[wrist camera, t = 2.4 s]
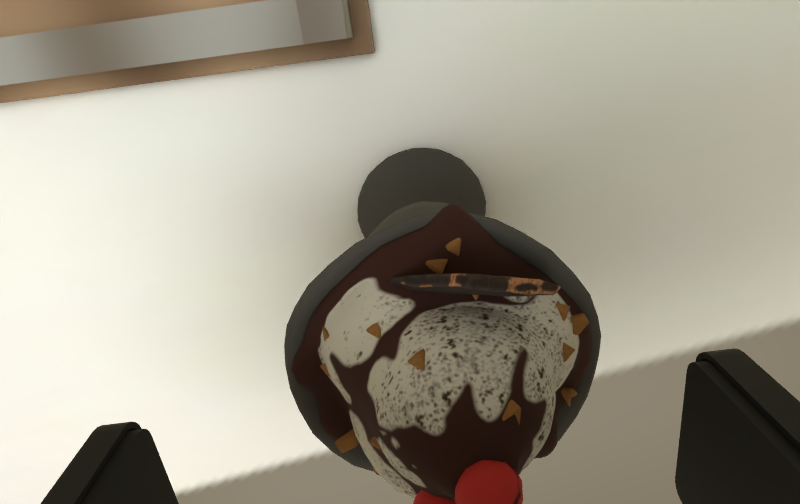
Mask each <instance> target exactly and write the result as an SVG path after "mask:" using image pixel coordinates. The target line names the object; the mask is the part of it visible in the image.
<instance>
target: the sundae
mask: <svg viewBox="0 0 800 504" xmlns="http://www.w3.org/2000/svg"><path fill="white" fill-rule="evenodd" d="M485 205H486V201H485V197H484V193H483V190H482V187H481V185H480V182H479V179H478V178H477V177H476V175H475V174H474V173H473V171H472V170H471V169H470V168H469V167H468V166H467V165H466V164H465V163H464V162H463V161H462V160H460V159H458V158H457V157H455V156H453V155H451V154H449V153H446V152H444V151H441V150H438V149H428V148H413V149H409V150H405V151H402V152H399V153H397V154H394V155H392V156H390V157H388V158H386V159H385V160H384V161H383V162H381V163H380V164H379V165H378V166H377V167H376V168H375V169H374V170H373V171H372V172H371V173H370V174H369V175H368V177H367V179H366V181H365V183H364V185H363V187H362V189H361V192H360V195H359V198H358V222H359V225H360V228H361V230H362V233H363V235H364V237H365V239H363V240H361V241H359V242H357V243H355V244H354V245H353V246H352V247H350V248H349V249H348V250H347V251H345V252H344V253H343V254H342V255H340V256H339V257H338V258H337V259H335V260H334V261H333V262H332V263H330V264H329V265H328V266H327V267H326V268H325V269H324V270H323V271H322V272H321V273H320V274H319V275H318V276H317V277H316V278H315V279H314V280H313V281H312V282H311V283H310V284H309V285H308V286H307V288H306V290H305V291H304V293H303V294H302V296H301V298H300V299H299V301H298V303H297V304H296V306H295V308H294V310H293V312H292V315H291V317H290V320H289V322H288V324H287V328H286V336H285V345H284V347H285V365H286V370H287V375H288V380H289V385H290V389H291V392H292V394H293V397H294V399H295V401H296V404H297V406H298V408H299V411H300V412H301V414H302V416H303V417H304V419H305V421H306V422H307V424H308V426H309V428H310V429H311V431H312V433H313V434H314V435H315V436H316V437H317V438H318V439H319V440H320V441H321V442H322V443H324V444H325V445H326V446H327V447H328V448H329V449H330V450H331V451H332V452H333V453H335V454H337V455H338V456H340V457H342V458H343V459H344V460H346V461H348V462H349V463H351V464H352V465H354V466H357V467H360V468H364V469H367V470H371V471H374V472H375V473H376V474H377V475H379V476H381V477H382V478H383V479H384V480H385V481H386V482H387V483H388V484H390V485H391V486H392V487H393V488H394V489H395V490H397V491H398V492H400V493H402V494H404V495H406V496H409V497H411V498H414V499H415V500H414V504H522V501H523V494H522V480H521V479H520V477H519V474H520V473H521V471H522V470H523V469H524V468H526V467H527V466H528V465H529V464H530V463H531V461H532V460H533V459H535V458H542V457H545V456H547V455H549V454H550V453H551V452H552V451H553V450H554V448H555V446H556V445H557V442H558V441H559V440H560V439H561V437H562V436H563V435H564V433H565V432H566V430H567V429H568V428H569V426H570V425H571V424H572V422H573V421H574V419H575V418H576V416H577V415H578V413H579V411H580V409H581V407H582V405H583V404H584V402H585V400H586V398H587V395H588V393H589V390H590V387H591V383H592V380H593V377H594V374H595V370H596V365H597V361H598V356H599V349H600V340H601V333H600V327H599V321H598V316H597V313H596V310H595V307H594V305H593V302H592V299H591V296H590V294H589V292H588V291H587V290H586V289H585V287H584V286H583V285H582V283H581V282H580V281H579V279H578V278H577V277H576V275H575V274H574V273H573V272H572V271H571V270H570V269H569V268H568V267H567V266H566V265H565V264H564V263H563V262H562V261H561V260H560V259H559V258H558V257H557V256H556V255H555V254H554V253H553V252H552V251H551V250H550V249H548V248H547V247H545V246H543V245H542V244H540V243H539V242H537V241H535V240H534V239H532V238H530V237H529V236H527V235H526V234H524V233H522V232H520V231H518V230H516V229H514V228H512V227H510V226H508V225H506V224H504V223H502V222H500V221H498V220H495V219H491V218H488V217H485Z"/></svg>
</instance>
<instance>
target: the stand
mask: <svg viewBox="0 0 800 504" xmlns="http://www.w3.org/2000/svg"><path fill="white" fill-rule="evenodd" d="M374 51H375V50H374V42H373V35H372V27H371V20H370V13H369V5H368V0H0V103H4V102H12V101H19V100H27V99H34V98H41V97H49V96H56V95H64V94H71V93H79V92H86V91H93V90H101V89H108V88H116V87H123V86H131V85H138V84H145V83H153V82H160V81H168V80H175V79H183V78H190V77H198V76H205V75H212V74H220V73H227V72H235V71H242V70H250V69H257V68H264V67H272V66H279V65H287V64H294V63H302V62H309V61H316V60H324V59H331V58H339V57H346V56H354V55H361V54H368V53H374Z"/></svg>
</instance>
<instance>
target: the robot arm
mask: <svg viewBox="0 0 800 504" xmlns="http://www.w3.org/2000/svg"><path fill="white" fill-rule="evenodd" d="M675 483H676V489H677V492H678V495H679V497H680V500H681V501H682V503H683V504H800V402H799V401H798V400H797V399H796V398H795V397H794V396H792V395H791V394H790V393H789V392H788V391H787V390H786V389H785V388H783V387H782V386H781V385H780V384H779V383H778V382H776V381H775V380H774V379H773V378H772V377H771V376H770V375H769V374H768V373H767V372H765V371H764V370H763V369H762V368H761V367H760V366H759V365H757V364H756V363H755V362H754V361H753V360H752V359H751V358H749V357H748V356H747V355H746V354H745V353H744V352H742V351H741V350H739V349H726V350H718V351H710V352H703V353H700V354H699V355H698V356H697V358H696V362H692V363H690V364H689V366H688V369H687V375H686V384H685V393H684V403H683V411H682V422H681V430H680V439H679V449H678V458H677V467H676V476H675ZM41 504H179V503H178V501H177V498H176V496H175V493H174V491H173V488H172V486H171V483H170V481H169V478H168V476H167V473H166V471H165V468H164V466H163V463H162V461H161V458H160V456H159V453H158V451H157V448H156V446H155V443H154V441H153V438H152V436H151V434H150V432H149V431H148V430H147V429H141V427H140V425H139V424H137V423H136V422H126V423H118V424H110V425H102V426H99V427H97V428H96V429H95V430H94V431H93V432H92V434H91V435H90V436H89V438H88V439H87V441H86V442H85V443H84V445H83V446H82V447H81V449H80V450H79V452H78V453H77V454H76V456H75V457H74V458H73V460H72V461H71V463H70V464H69V465H68V467H67V468H66V469H65V471H64V472H63V474H62V475H61V476H60V478H59V479H58V480H57V482H56V483H55V485H54V486H53V487H52V489H51V490H50V491H49V493H48V494H47V496H46V497H45V498H44V500H43V501H42V502H41Z"/></svg>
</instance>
